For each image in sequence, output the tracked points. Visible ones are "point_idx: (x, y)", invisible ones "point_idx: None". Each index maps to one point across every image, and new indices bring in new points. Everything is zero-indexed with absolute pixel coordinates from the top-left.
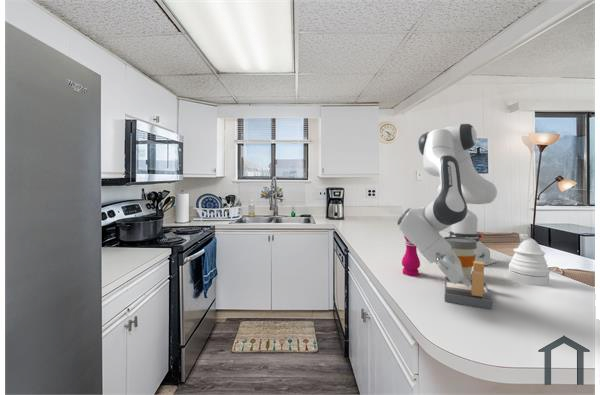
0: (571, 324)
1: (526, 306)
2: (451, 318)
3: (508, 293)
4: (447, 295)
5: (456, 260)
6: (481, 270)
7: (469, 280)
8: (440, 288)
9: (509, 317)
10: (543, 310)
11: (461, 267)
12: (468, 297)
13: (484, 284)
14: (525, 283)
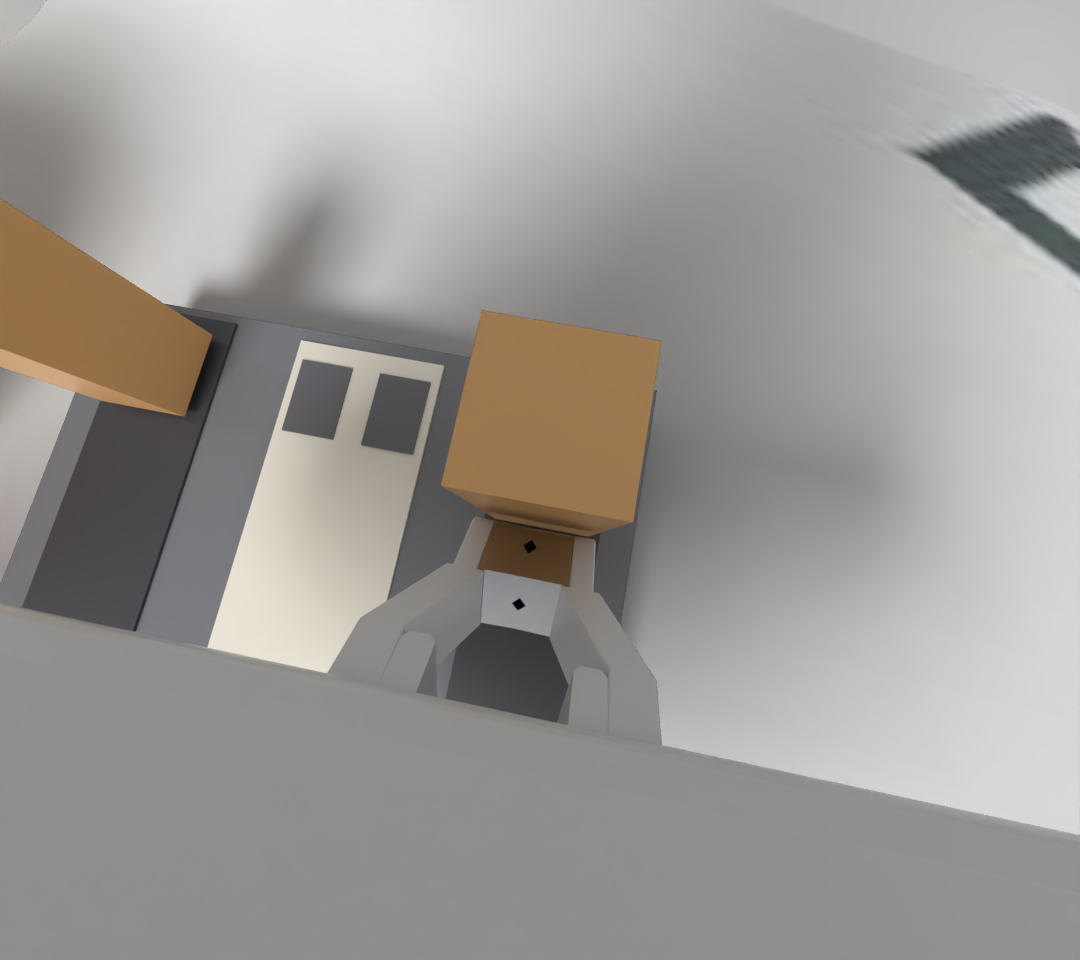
0: (731, 53)
1: (509, 175)
2: (943, 781)
3: (265, 197)
4: None
5: (15, 905)
6: (50, 262)
7: (543, 553)
8: None
9: (753, 346)
10: (552, 106)
11: (423, 730)
12: (627, 577)
13: (212, 325)
14: (25, 13)
